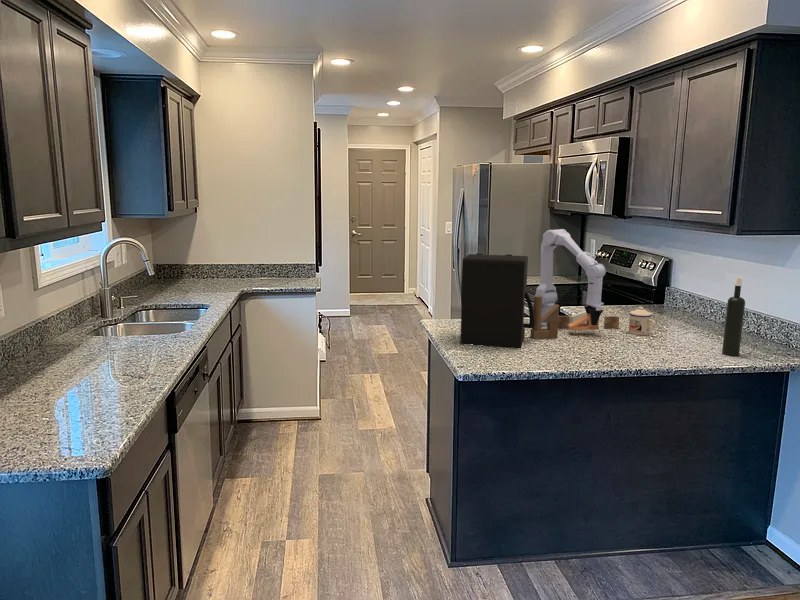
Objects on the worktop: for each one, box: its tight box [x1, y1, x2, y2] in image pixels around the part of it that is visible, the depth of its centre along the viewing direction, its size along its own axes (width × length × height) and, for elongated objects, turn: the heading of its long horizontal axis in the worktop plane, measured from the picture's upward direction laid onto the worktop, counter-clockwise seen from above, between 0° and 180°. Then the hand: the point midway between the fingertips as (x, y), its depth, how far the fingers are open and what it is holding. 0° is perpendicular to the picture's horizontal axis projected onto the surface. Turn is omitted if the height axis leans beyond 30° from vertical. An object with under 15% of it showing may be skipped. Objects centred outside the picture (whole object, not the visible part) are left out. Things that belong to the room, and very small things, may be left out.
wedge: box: [567, 313, 600, 331], centre depth 257 cm, size 12×4×6 cm, turn 89°
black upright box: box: [460, 253, 534, 350], centre depth 244 cm, size 28×20×35 cm
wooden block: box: [529, 295, 560, 340], centre depth 251 cm, size 4×11×18 cm, turn 98°
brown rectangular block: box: [558, 315, 620, 330], centre depth 269 cm, size 28×2×6 cm, turn 89°
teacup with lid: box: [628, 306, 656, 336], centre depth 258 cm, size 12×9×12 cm
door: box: [569, 310, 587, 324], centre depth 275 cm, size 15×1×5 cm, turn 139°
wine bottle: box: [721, 275, 746, 357], centre depth 226 cm, size 6×6×30 cm
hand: (592, 323), depth 258 cm, fingers closed on wedge, 4 cm apart
